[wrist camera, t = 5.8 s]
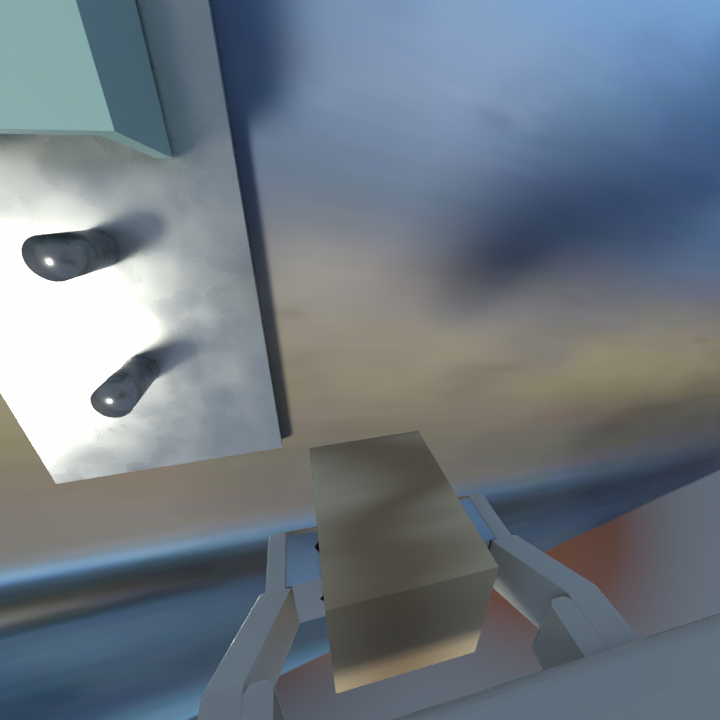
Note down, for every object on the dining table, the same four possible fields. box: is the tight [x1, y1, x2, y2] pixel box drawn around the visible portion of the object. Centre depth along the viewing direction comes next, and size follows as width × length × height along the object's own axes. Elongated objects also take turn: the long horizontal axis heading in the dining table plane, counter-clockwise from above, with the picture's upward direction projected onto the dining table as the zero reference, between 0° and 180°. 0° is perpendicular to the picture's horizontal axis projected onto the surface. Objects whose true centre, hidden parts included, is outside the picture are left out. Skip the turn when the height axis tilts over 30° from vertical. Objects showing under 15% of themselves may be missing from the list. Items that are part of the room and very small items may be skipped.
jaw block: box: [309, 431, 499, 693], centre depth 10 cm, size 4×4×5 cm
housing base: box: [0, 0, 282, 484], centre depth 16 cm, size 16×32×5 cm, turn 1°
